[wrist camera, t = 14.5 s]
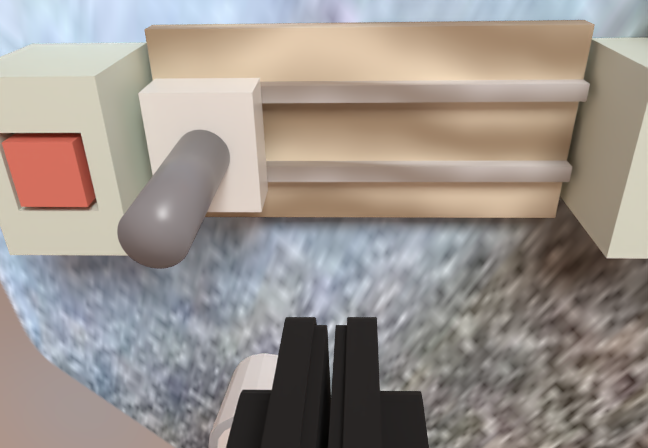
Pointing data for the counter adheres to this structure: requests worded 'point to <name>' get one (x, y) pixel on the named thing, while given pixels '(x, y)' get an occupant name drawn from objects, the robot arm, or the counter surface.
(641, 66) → the cabinet
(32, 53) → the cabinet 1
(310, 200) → the rail track
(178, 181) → the carriage
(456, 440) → the counter surface
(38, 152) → the red block
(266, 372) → the pale pink cylinder cup
